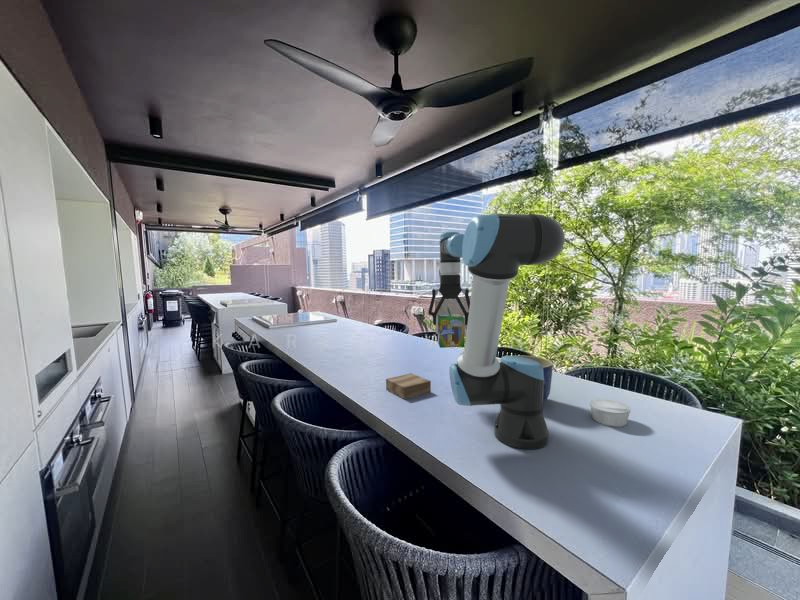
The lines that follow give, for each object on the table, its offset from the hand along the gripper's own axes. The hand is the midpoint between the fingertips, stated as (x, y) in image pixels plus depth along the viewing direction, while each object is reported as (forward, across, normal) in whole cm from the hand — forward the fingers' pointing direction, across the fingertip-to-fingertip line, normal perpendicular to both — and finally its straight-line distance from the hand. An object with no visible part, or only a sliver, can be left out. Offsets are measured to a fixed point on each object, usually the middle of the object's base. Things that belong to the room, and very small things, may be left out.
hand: (450, 333), depth 131 cm
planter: (+25, -28, +1) cm, 38 cm away
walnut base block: (+25, +17, -6) cm, 31 cm away
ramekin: (+26, -50, +16) cm, 59 cm away
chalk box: (+5, 0, 0) cm, 5 cm away
